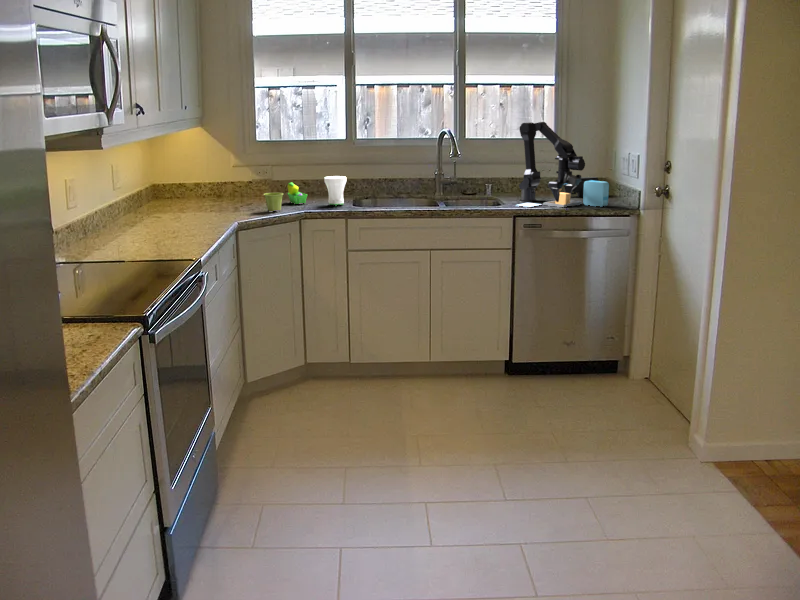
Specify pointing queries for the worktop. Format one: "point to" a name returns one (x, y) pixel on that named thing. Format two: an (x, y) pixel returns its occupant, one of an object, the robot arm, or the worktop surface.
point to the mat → (528, 204)
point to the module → (564, 198)
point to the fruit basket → (296, 194)
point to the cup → (335, 189)
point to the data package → (596, 193)
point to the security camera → (582, 186)
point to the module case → (552, 203)
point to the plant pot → (273, 201)
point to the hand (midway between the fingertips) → (562, 200)
